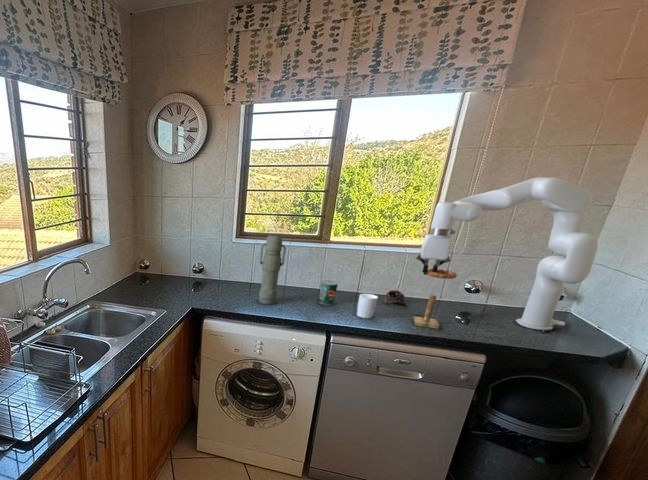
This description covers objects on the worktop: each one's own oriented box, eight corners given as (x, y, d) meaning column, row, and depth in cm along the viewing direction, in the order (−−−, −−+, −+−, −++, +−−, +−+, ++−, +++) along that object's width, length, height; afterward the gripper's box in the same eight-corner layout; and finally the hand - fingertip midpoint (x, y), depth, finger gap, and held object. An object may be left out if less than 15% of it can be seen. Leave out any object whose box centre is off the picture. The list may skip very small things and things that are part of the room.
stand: (435, 322, 185) (443, 294, 180) (438, 328, 178) (447, 299, 173) (412, 319, 189) (420, 291, 184) (415, 325, 181) (422, 296, 176)
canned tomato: (331, 306, 206) (335, 285, 202) (316, 303, 211) (319, 282, 207) (335, 302, 212) (339, 282, 208) (320, 299, 217) (323, 279, 213)
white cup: (363, 319, 188) (368, 299, 184) (351, 314, 195) (355, 294, 191) (377, 318, 190) (382, 297, 186) (364, 312, 197) (369, 293, 193)
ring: (453, 274, 179) (454, 270, 178) (458, 280, 170) (459, 275, 169) (423, 271, 184) (425, 267, 183) (427, 277, 174) (428, 272, 174)
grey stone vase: (279, 305, 207) (288, 236, 194) (255, 303, 210) (263, 235, 197) (278, 300, 215) (287, 234, 202) (255, 298, 218) (263, 233, 205)
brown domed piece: (409, 307, 206) (407, 295, 202) (389, 314, 209) (387, 302, 205) (399, 295, 216) (397, 283, 212) (380, 301, 219) (377, 290, 215)
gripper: (460, 232, 172) (448, 274, 178) (417, 230, 178) (406, 270, 185) (464, 235, 165) (451, 278, 172) (419, 232, 172) (408, 274, 179)
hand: (428, 274), depth 178 cm, fingers closed on ring, 2 cm apart
